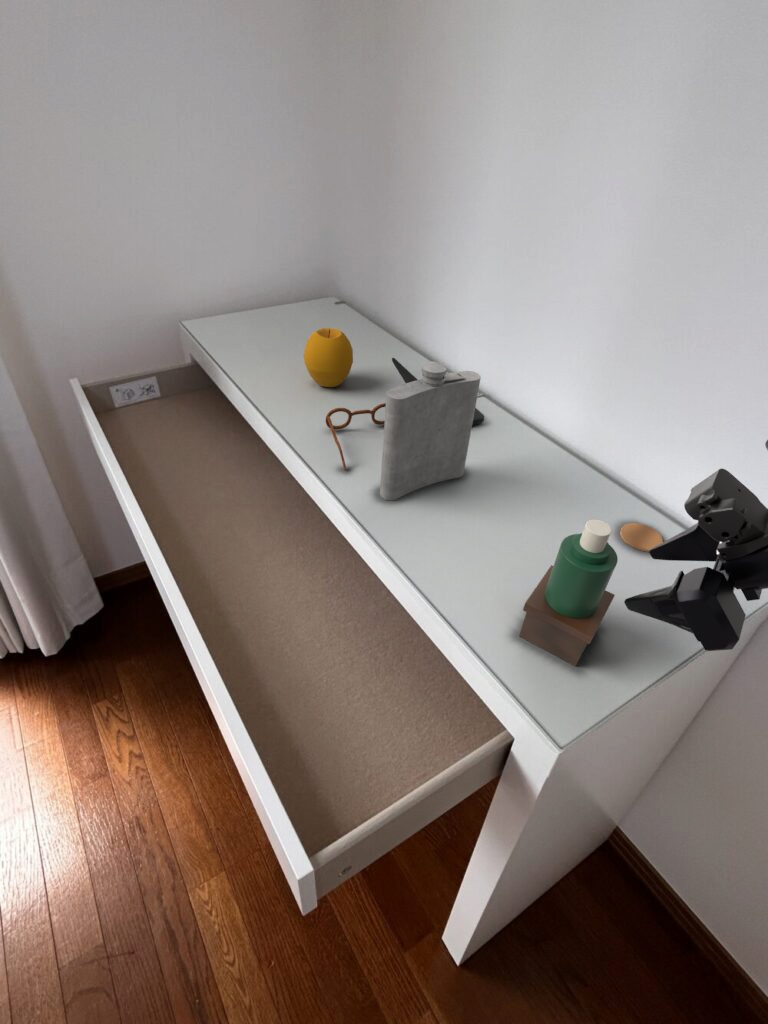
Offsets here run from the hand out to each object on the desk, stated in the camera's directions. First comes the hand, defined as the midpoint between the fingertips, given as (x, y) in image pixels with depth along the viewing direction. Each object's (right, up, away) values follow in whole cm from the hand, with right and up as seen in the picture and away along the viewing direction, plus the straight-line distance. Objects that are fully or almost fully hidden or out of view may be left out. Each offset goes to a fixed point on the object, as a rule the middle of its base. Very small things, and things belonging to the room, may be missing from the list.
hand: (639, 578), depth 59 cm
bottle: (-5, -3, +7) cm, 9 cm away
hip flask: (-21, +12, +33) cm, 41 cm away
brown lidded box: (-5, -8, +11) cm, 14 cm away
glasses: (-29, +18, +41) cm, 53 cm away
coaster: (+12, +3, +25) cm, 28 cm away
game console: (-17, +27, +52) cm, 60 cm away
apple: (-38, +33, +58) cm, 76 cm away
